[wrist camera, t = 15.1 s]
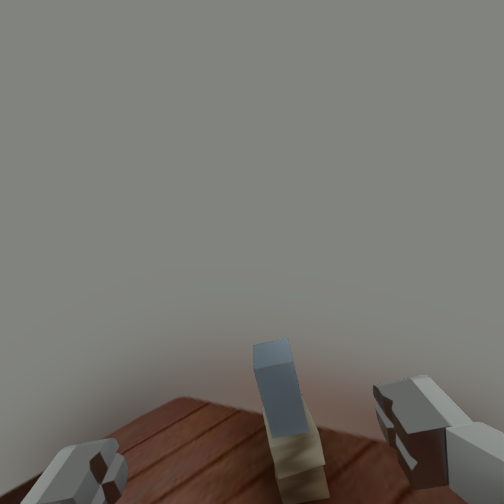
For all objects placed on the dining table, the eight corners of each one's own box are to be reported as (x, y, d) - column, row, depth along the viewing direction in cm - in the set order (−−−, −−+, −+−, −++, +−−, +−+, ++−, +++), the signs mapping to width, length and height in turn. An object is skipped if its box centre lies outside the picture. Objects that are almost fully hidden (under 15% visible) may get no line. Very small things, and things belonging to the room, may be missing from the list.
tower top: (278, 479, 31) (270, 448, 29) (269, 434, 36) (261, 406, 35) (325, 464, 31) (318, 432, 30) (308, 422, 37) (302, 394, 36)
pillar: (272, 438, 30) (253, 369, 28) (269, 407, 35) (253, 345, 32) (309, 431, 30) (293, 361, 28) (302, 401, 35) (287, 338, 32)
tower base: (283, 505, 32) (275, 476, 31) (278, 457, 38) (271, 431, 37) (330, 498, 32) (323, 468, 31) (318, 450, 38) (312, 423, 36)
